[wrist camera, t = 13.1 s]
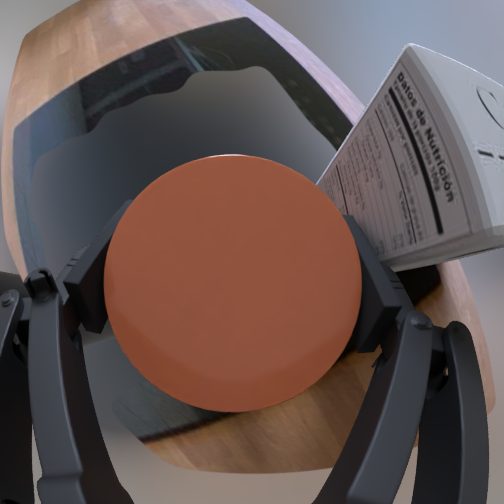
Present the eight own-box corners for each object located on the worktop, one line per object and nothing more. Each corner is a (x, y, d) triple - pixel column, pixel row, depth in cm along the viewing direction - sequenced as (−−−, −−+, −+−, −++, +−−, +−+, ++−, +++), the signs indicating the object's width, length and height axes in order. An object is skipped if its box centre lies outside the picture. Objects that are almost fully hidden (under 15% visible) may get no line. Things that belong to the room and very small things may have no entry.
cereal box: (432, 210, 32) (565, 134, 7) (443, 262, 31) (592, 218, 6) (290, 220, 31) (404, 37, 6) (299, 287, 29) (496, 240, 5)
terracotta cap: (176, 374, 16) (134, 422, 8) (150, 229, 18) (96, 184, 10) (323, 345, 17) (379, 374, 9) (292, 202, 19) (324, 141, 11)
